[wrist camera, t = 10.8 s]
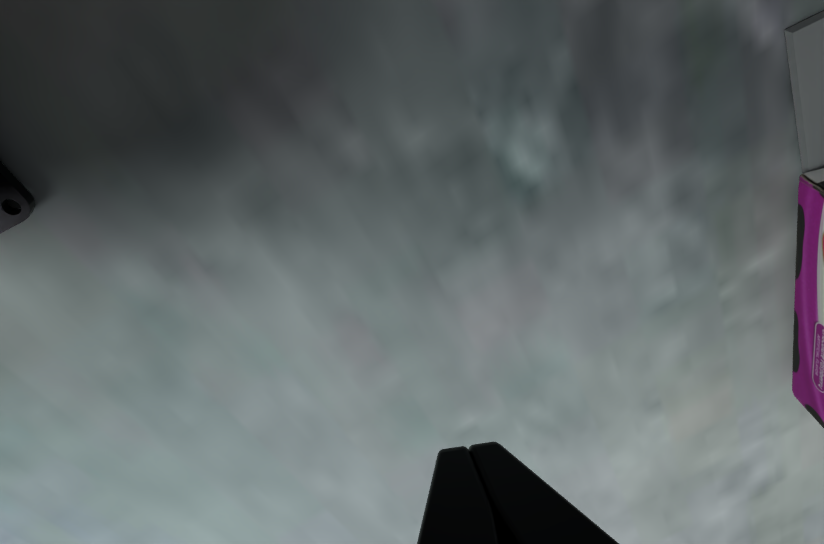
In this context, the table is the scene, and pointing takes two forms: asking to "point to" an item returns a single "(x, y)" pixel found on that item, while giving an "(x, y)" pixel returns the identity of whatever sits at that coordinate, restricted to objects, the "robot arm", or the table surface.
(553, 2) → the table surface
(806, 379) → the candy bar box
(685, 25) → the table surface
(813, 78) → the mat
